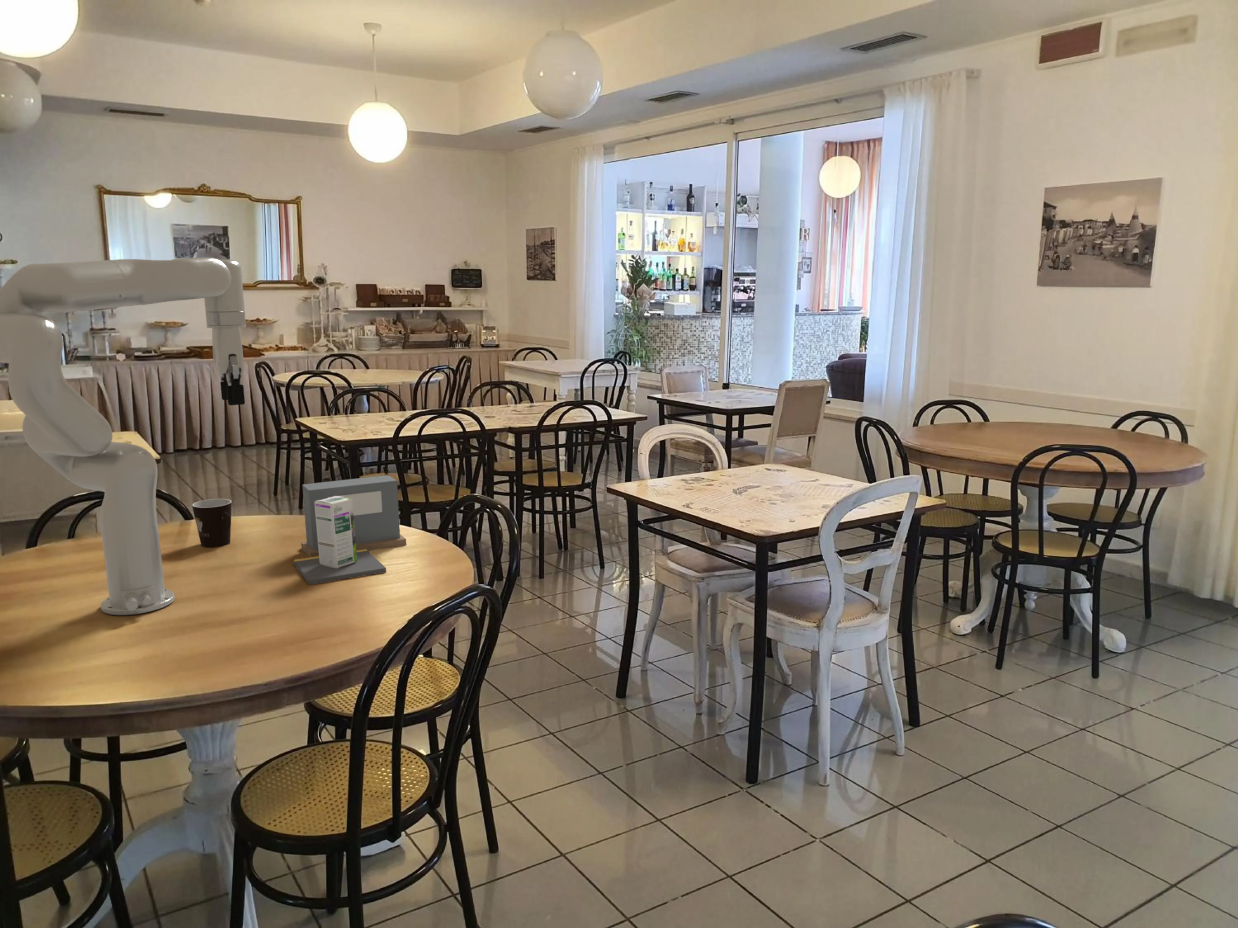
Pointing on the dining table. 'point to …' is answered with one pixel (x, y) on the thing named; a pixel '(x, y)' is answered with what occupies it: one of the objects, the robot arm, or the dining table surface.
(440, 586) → the dining table surface
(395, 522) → the box
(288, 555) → the dining table surface
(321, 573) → the mat
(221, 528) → the coffee mug
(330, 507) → the syrup box
